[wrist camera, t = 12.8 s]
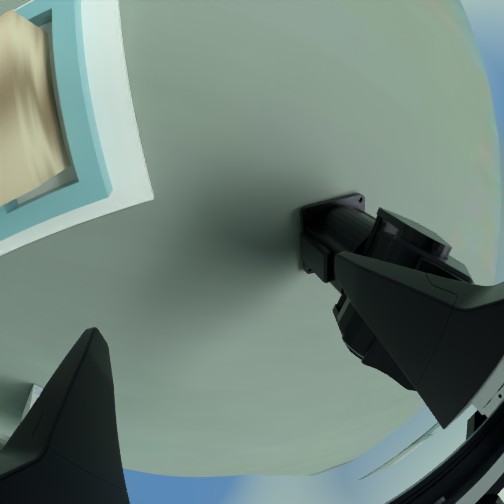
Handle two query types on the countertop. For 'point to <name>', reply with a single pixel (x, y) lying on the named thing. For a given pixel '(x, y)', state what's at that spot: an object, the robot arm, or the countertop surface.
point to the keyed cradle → (83, 124)
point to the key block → (27, 110)
